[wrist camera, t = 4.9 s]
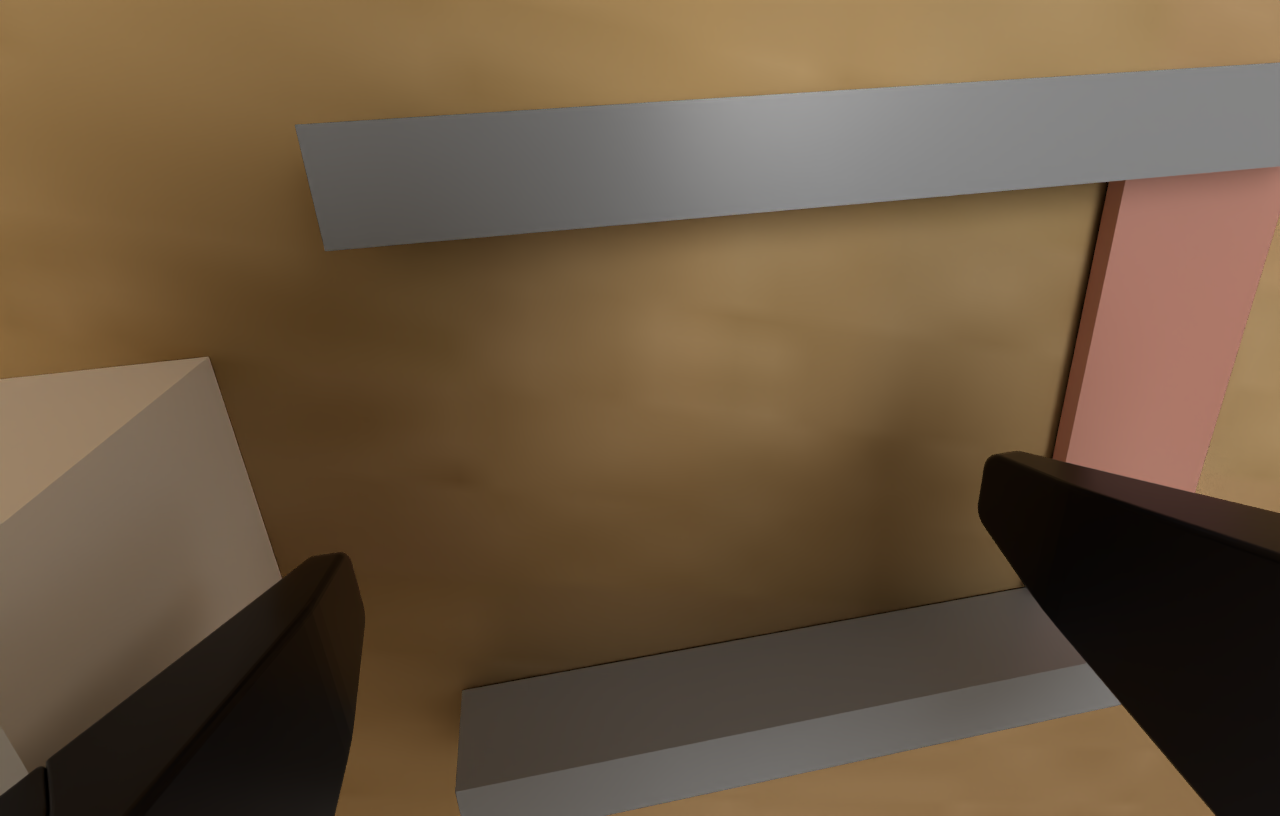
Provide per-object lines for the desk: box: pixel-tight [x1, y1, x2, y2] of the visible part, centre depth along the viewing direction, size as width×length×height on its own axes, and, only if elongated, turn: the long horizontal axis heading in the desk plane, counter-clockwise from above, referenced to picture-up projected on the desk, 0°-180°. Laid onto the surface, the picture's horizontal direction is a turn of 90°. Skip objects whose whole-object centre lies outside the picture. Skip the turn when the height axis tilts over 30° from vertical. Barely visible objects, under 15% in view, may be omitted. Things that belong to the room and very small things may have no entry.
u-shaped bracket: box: [295, 63, 1280, 816], centre depth 11 cm, size 14×10×2 cm
